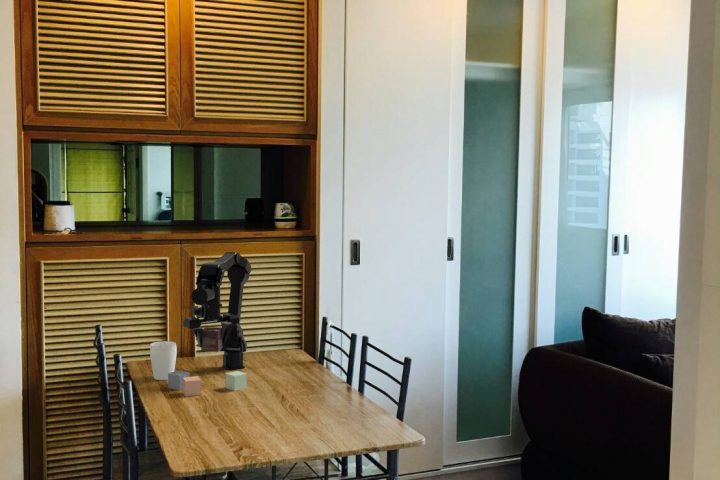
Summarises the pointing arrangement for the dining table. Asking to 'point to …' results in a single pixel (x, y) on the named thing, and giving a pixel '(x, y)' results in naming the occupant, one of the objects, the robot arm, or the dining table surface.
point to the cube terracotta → (191, 386)
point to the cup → (163, 358)
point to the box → (212, 339)
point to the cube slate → (177, 379)
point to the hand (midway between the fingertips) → (211, 345)
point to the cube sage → (236, 380)
